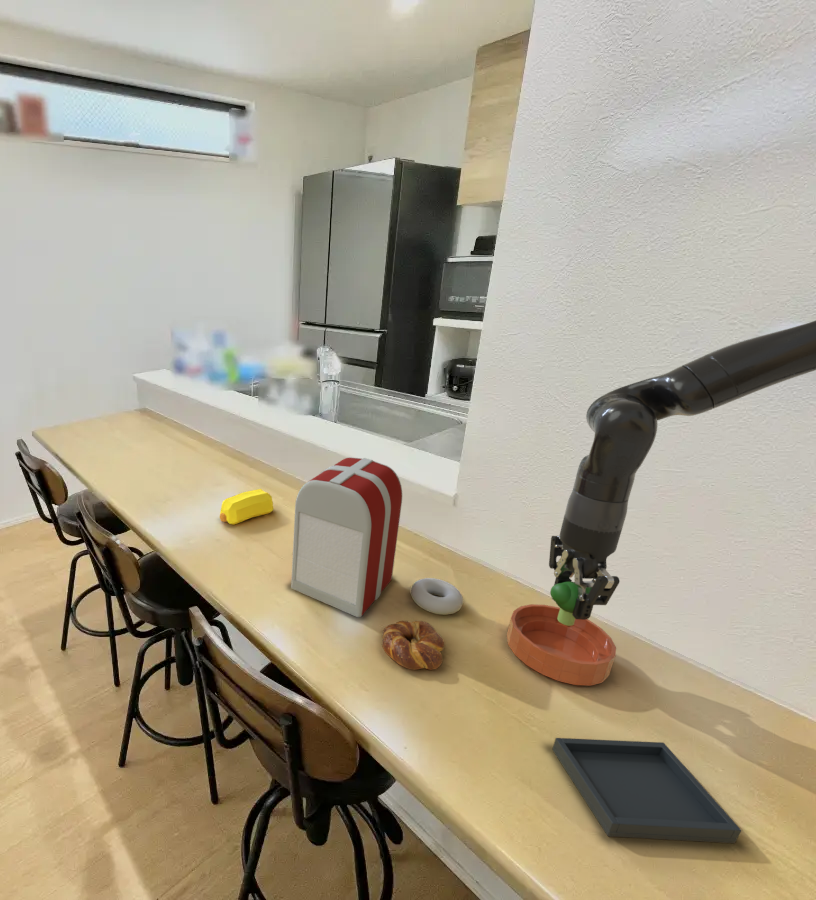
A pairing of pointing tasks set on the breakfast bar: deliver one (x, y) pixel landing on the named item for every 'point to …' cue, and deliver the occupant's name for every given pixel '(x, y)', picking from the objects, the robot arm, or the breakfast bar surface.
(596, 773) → the tray
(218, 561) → the breakfast bar surface
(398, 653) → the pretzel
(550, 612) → the bowl
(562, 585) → the broccoli
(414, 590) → the donut
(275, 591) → the breakfast bar surface
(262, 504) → the yellow faceted capsule
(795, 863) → the breakfast bar surface
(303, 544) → the red grey arched block
